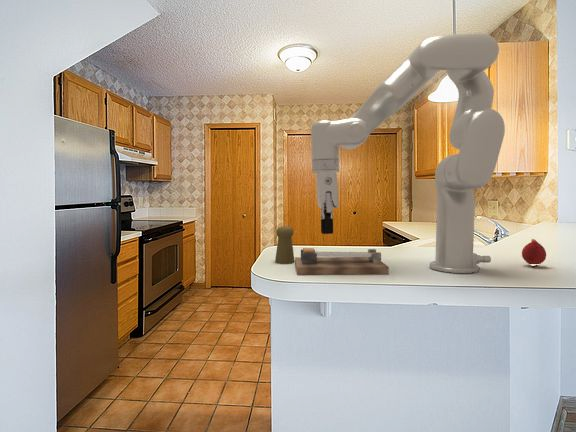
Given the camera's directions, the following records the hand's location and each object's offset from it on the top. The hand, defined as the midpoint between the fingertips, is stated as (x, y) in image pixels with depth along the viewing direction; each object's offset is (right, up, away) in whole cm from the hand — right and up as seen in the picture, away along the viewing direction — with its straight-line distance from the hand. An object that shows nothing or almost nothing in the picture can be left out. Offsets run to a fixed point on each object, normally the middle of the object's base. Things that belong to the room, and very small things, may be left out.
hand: (327, 233), depth 102 cm
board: (+3, -10, +1) cm, 11 cm away
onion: (+59, -10, +3) cm, 60 cm away
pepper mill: (-12, -10, +11) cm, 18 cm away
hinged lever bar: (+4, -6, +1) cm, 7 cm away
